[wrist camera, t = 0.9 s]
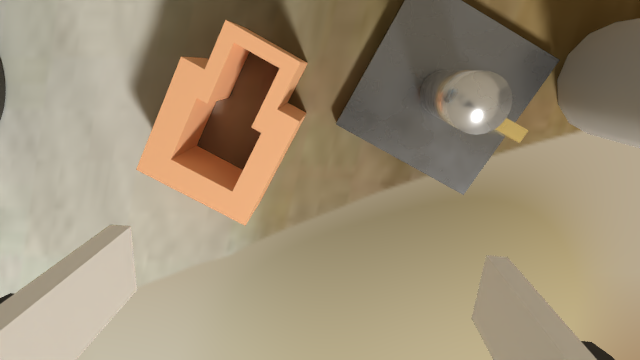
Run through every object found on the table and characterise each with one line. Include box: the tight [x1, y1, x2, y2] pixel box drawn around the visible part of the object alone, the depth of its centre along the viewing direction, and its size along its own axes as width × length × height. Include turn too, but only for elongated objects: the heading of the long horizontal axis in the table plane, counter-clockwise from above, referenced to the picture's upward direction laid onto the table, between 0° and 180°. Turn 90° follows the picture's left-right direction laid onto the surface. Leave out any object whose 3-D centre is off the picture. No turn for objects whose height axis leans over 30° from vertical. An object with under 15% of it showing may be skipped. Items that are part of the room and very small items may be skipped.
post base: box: [336, 0, 559, 195], centre depth 25 cm, size 12×12×9 cm
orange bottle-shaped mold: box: [136, 20, 308, 225], centre depth 28 cm, size 12×9×5 cm
